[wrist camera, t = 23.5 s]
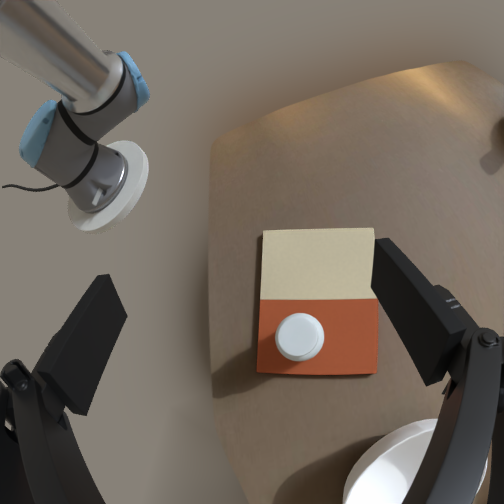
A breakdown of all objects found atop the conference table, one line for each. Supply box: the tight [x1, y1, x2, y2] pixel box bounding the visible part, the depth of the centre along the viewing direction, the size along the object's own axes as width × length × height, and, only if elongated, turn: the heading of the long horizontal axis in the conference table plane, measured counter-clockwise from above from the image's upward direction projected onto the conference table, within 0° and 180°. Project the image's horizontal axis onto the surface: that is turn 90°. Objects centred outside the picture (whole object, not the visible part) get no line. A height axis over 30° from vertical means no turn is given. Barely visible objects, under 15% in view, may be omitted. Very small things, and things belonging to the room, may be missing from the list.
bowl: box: [343, 419, 487, 504], centre depth 23 cm, size 20×20×8 cm
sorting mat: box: [256, 228, 378, 375], centre depth 37 cm, size 16×20×1 cm
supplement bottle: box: [275, 313, 324, 361], centre depth 31 cm, size 5×5×10 cm
